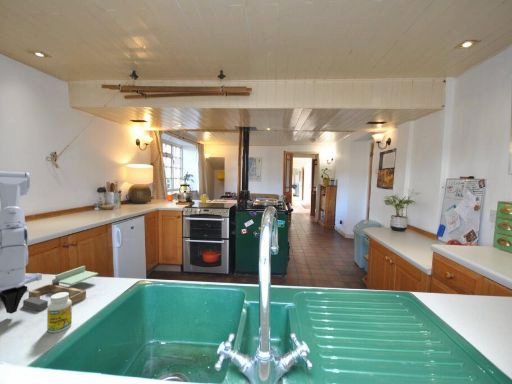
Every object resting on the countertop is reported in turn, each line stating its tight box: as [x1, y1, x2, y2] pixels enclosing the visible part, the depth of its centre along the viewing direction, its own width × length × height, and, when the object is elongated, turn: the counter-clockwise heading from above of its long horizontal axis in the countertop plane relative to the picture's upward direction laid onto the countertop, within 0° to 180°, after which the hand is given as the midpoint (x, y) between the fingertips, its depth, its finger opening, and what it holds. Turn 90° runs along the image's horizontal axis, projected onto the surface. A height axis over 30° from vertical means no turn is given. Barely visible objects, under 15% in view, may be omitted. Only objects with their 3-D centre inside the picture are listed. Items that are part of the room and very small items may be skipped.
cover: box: [51, 265, 99, 286], centre depth 92 cm, size 12×9×3 cm
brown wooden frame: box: [28, 282, 87, 305], centre depth 83 cm, size 17×8×3 cm, turn 75°
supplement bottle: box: [46, 292, 73, 334], centre depth 67 cm, size 5×5×10 cm
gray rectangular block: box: [22, 297, 49, 312], centre depth 77 cm, size 8×2×2 cm, turn 73°
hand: (11, 311), depth 71 cm, fingers closed
